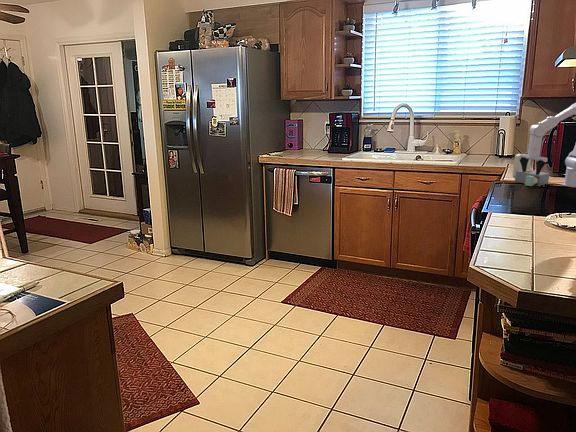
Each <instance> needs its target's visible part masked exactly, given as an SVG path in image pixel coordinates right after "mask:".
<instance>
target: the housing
mask: <svg viewBox="0 0 576 432" xmlns="http://www.w3.org/2000/svg"><path fill="white" fill-rule="evenodd" d="M526 170H528V169H526ZM530 170H531V172H522V170H518V171H516V175H515V177H514V182H516V183H521V184H525V180H526V176H528V175H529V176H534V177H539V179H538V184H534V185H533V186H536V187H542V186H545V184H546V185H548V184H549V181H550V172H543V171H540V174H539V175H536V170H532V169H530ZM541 185H542V186H541Z"/></svg>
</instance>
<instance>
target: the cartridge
mask: <svg viewBox="0 0 576 432" xmlns="http://www.w3.org/2000/svg"><path fill="white" fill-rule="evenodd" d="M538 179H539V177H534V176H529V175H528V176H526V180H525V183H524V186H529V187H533V186H535V185H534V184H537V183H538Z"/></svg>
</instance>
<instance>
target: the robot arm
mask: <svg viewBox="0 0 576 432" xmlns="http://www.w3.org/2000/svg"><path fill="white" fill-rule="evenodd" d="M573 115H574V116H575V115H576V102H575V103H572V104H571V105H570V106H569V107H567V108H565V109H564V110H563V111H561V112H559V113H558V114H556V115H555V116H554V115H553V116H546V118H545V119H543V120H542V121H539V122H537V124H533V125H531V126H530V127H529V128H528V134H529V142H528V149H527V150H528V151H527V154H526V155H525V153H519V154H520V155H519V158H521V159H520V163H521V165H522V172H526V169H527V164H528V161H529V159H531V161H536V162H535V163H536V169H535V171H536V175H539V174H540V172H542V170H543V168H544V166H545V165H546V164H547V162H548V157H544V156H540V154H541V149H542V148H541V147H542V141H543V137H544V136H545V134H546V132H548V131H550V130H551V129H554V128H555V127H557V126H558V123H559V122H561V121H563V120H565V119H567V118H569V117H571V116H573ZM564 165H565V166H566V170H565V176H564V182H563V183H561V184H560V186H564V187H565V186H566V187H570V188H576V142H575V145H574V147H573V150H572V151H571V152H569V153H568V156H567V157H566V158H565V160H564Z"/></svg>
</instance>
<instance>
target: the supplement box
mask: <svg viewBox="0 0 576 432" xmlns="http://www.w3.org/2000/svg"><path fill="white" fill-rule="evenodd" d="M520 154H521V153H517V154H516V155H514V162H513V169H512V177H514V178H515V175H516V171H518V170H522V165H521V163H520V159H521V158H519V155H520ZM524 154H525V153H524ZM525 155H527V154H525ZM531 161H532V160H531V159H529V161H528V164H527V169H528V170H531Z"/></svg>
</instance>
